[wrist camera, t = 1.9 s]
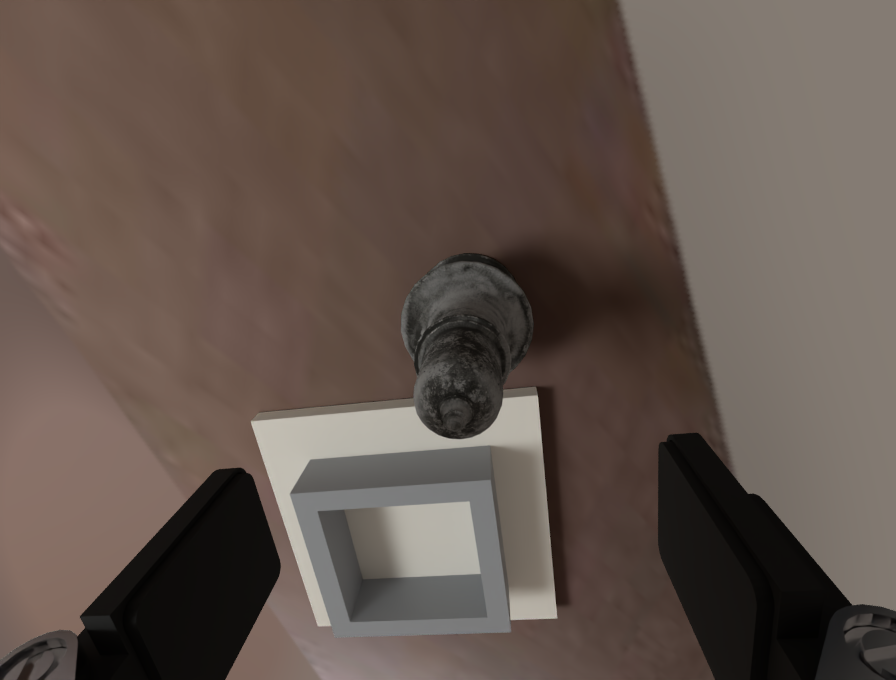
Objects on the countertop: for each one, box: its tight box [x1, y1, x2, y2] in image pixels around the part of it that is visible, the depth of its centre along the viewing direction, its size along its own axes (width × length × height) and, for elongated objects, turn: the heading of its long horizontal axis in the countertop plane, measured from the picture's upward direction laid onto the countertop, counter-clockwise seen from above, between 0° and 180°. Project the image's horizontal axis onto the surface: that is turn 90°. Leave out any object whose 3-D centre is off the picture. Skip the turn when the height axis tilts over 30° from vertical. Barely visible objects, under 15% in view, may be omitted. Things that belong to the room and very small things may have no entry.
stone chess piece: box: [401, 253, 534, 439], centre depth 18 cm, size 6×6×12 cm
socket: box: [251, 387, 557, 638], centre depth 27 cm, size 16×16×4 cm
